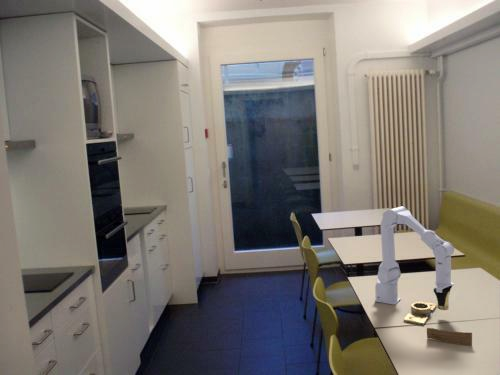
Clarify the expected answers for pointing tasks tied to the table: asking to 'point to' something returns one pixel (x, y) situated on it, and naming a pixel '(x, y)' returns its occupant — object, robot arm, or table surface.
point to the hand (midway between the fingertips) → (443, 303)
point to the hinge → (420, 312)
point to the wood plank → (450, 336)
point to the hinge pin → (445, 303)
